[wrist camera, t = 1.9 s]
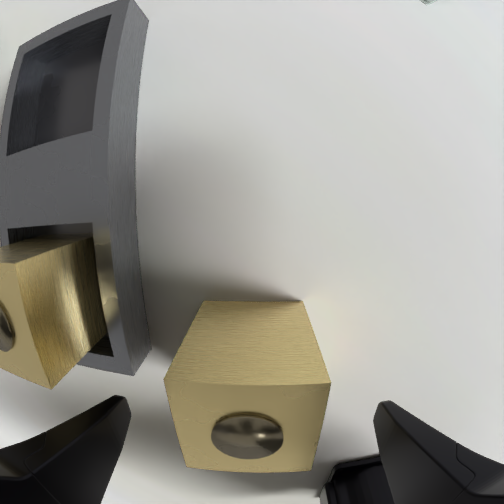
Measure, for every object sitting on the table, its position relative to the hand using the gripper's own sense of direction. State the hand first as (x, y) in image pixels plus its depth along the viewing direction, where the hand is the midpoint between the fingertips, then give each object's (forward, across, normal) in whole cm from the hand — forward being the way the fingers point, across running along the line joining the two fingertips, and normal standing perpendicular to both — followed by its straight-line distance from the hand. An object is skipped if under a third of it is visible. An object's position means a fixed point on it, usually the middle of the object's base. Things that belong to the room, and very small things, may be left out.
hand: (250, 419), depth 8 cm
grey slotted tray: (+5, +9, -8) cm, 13 cm away
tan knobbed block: (+5, 0, 0) cm, 5 cm away
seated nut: (+5, +9, -3) cm, 11 cm away
